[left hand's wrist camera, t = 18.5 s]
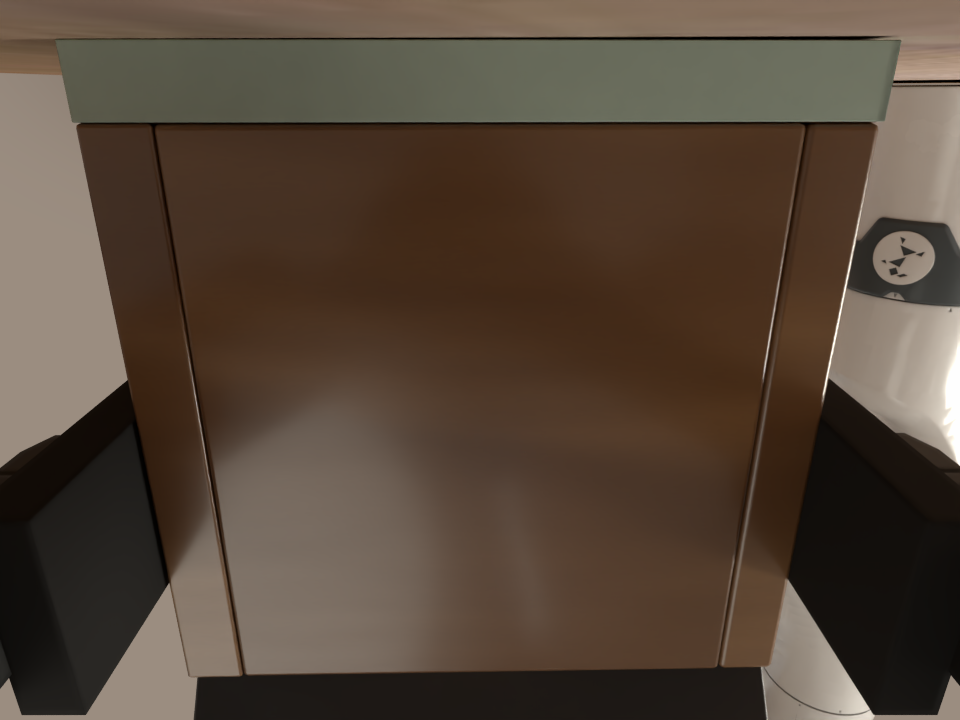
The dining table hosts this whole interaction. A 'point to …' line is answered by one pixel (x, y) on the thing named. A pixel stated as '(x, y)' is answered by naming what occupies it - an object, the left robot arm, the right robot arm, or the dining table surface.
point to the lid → (489, 695)
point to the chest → (477, 336)
